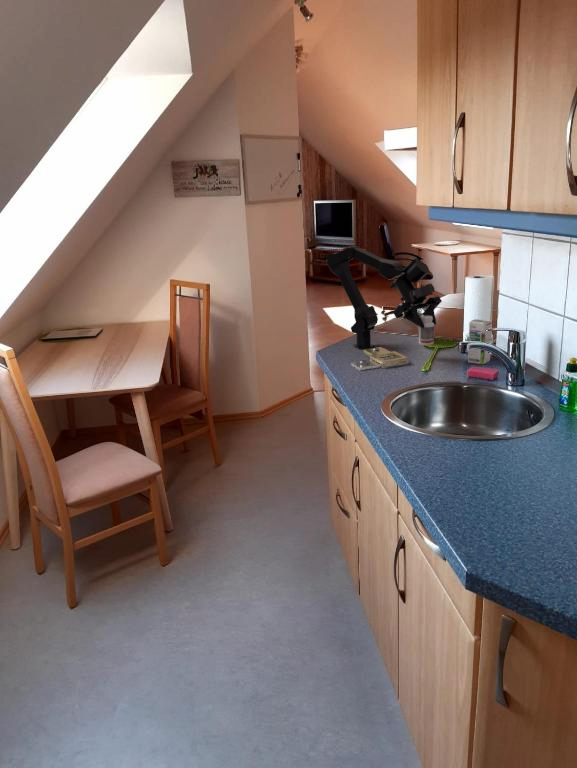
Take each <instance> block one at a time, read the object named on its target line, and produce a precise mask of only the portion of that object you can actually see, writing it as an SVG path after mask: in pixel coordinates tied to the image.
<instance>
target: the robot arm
mask: <svg viewBox="0 0 577 768" xmlns="http://www.w3.org/2000/svg"><path fill="white" fill-rule="evenodd" d="M353 259H354V260H356V261H358V262H360V263H362V264H364V265H366V266H368V267H371V268H373V269H374V270H376V272H378V273H379V275H380V276H382V277H384V278H385V279H386V280H393V281H391V284H390V287H389V288H390V289H391V290H394V289H395V290H396V289H397V291H398V293H399V294H400V296H401V298H400V301H401V302H400V303H399V304H398V305H397V306H396V307H395V309H394V310H393V316H394V317H395V318H396V319H400V318H403V319H405V320H408V321H409V322H411V323H413V324H415V325H416V326H417V327H418V326H419V327H421V328H424V324H423V322H422V320H421V318H420V317H419V315H418V310H421V309H422V310H423V312H422V313H423V315H424V316H432V317H433V320H432V322H433V323H434V326H436V325H437V318H436V319H435V317H436V315H435V310H436V308H438V306H439V305H440V304H441V303H442V301H443V300H442V299H441V297H440V296H438V295H435V296H430V295H433V293H434V292H435V291H436V290H435V287H434V285H433V284H432V283H428V284H425V285H424V286H421V287H416V286H415V285H414V283H417V284H418V283H419V282H420V281H421V280H422V279H423V278H424V277H425V276H426V275H427V274H428V273H429V272H430V269H429V267H428V265H427V264H426V263H424V262H423V261H422V260H420V259H419V258H414V259H412V260H411V262H410V263H409V264H408V265H403V264H402V263H401V262H400V261H398V260H392V259H387V258H383V257H380V256H377V255H376V254H373V253H372V252H370V251H367V250H365V249H363V248H361V247H360V246H358V245H351V246H348V247H347V248H345V249H343V250H340V251H339V252H334V253H329V254H328V255H327V257H326V261H325V262H326V265H327V266H328V269H330V272H332V273H333V274H334V275H335V276H336V277H338V280H339V281H340V284H341V285H342V287H343V289H344V291H345V293H346V295H347V297H348V299H349V301H350V303H351V305H352V307H353V309H354V310H353V311H354V313H353V314H354V321H355V322H354V324H353V325H351V327H350V330H351V333H353V334H355V343H353V344H352V346H353V345H354V346H353V347H355V348H357V349H358V348H359V349H358V350H362V348H363V349H370V348H375V345H374V344H372V343H371V342H372V341H371V331H372V330H374V329H375V326H377V324H378V320H379V317H378V315H379V314H378V313H377V312H376V310H375V307H374V305H371V306H369V305H368V304H367V303H366V302H365V300H364V298H363V295H362V294H361V292H360V289H359V287H358V286H357V284H356V282H355V279H354V277H353V274H352V273H351V269H350V268H351V267H350V266H351V265H350V263H351V262H350V261H351V260H353ZM394 279H396V280H394ZM428 296H430V297H429V298H428V299H427V297H428Z"/></svg>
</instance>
